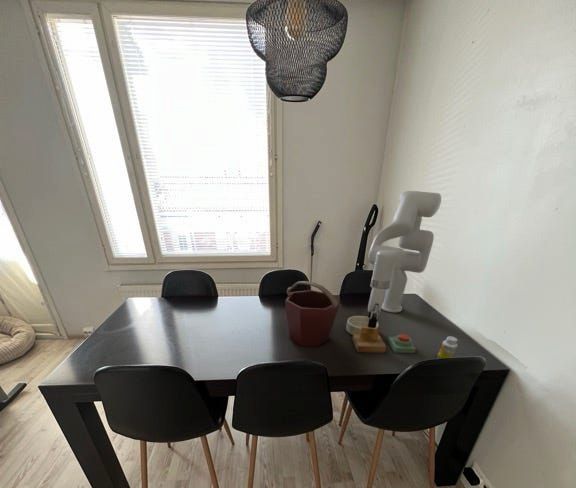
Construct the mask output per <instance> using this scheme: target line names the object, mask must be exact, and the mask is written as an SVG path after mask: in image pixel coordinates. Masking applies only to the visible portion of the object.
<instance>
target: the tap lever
mask: <svg viewBox="0 0 576 488" xmlns="http://www.w3.org/2000/svg"><path fill="white" fill-rule="evenodd" d="M379 333H380V327H378V328H371V327H367V326H362V328H361V333H360V338H366V339H373V340H377V338H378V335H380V334H379Z"/></svg>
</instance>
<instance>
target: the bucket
mask: <svg viewBox="0 0 576 488" xmlns="http://www.w3.org/2000/svg"><path fill="white" fill-rule="evenodd" d="M299 285H307V286H311V287H314V288H316V289H318V290H319V291H318V290H315V289H314V290H313V289H307V290H299V291H292V290H295V289H296V288H297V287H298V286H299ZM286 294H287V297H286V299H285V303H284V305H285V306H284V308H285V313H286V314H285V315H286V320H287V326H288V333H289V338H290V340H291V341H293V342H295V343H296V344H298V345H299V346H303V347H319V346H321V345H322V344H324V343H326V342H327V341H328V339H329V336H330V334H331V331H332V328H333V326H334V323H335V320H336V317H337V315H338V311H339V308H340V302H339V300H338V299H337V298H336V297H335V296H334V295H333V293H332V292H331V291H330V290H328V289H327V288H326V287H325V286H324V285H322V284H319V283H316V282H313V281H307V280H301V281H300V280H299V281H296V282H294V283H293V284H292V285H291V286H289V287H288V288H287V290H286Z"/></svg>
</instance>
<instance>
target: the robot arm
mask: <svg viewBox="0 0 576 488" xmlns="http://www.w3.org/2000/svg"><path fill="white" fill-rule="evenodd" d="M441 203H442V195H441V194H440V193H439V192H429V191H419V190H406V191H403V192H402V193H401V194H400V195H399V199H398V206H397V208H396V211H395V213H394V217H393V219H392V222H391V223H389V224H387V225H386V226H385V227H383V228H382V229H381V230H379V232H378V233H376V235H375V236H374V238H373V240H372V242H371V246H370V248H369V251H368V254H367V260H368V262H369V263H370V264H372V265H373V271H372V276H371V281H370V285H369V286H370V287H371V291H370V295H369V300H368V304H367V312H368V316H367V317H368V318H369V323H368V327H371V328H376V324H377V322H378V319H379V318H378V317H379V314H380V313H381V312H382V311H384V312H387V313H401V312H402V311H403V307H402V305H401V304H402V301H403V297H404V293H405V290H406V286H407V283H408V275H407V273H406V272H411V273H417V274H420V273H423V272H424V271H425V270H426V267H427V265H428V262H429V258H430V254H431V251H432V247H433V243H434V240H435V239H434V238H435V235H434V232H433V231H431V230H427V229H421V225H422V221H423V218H432V217H434V216H435V215H436V214H437V212H438V211H439V209H440V207H441ZM397 238H398V242H397V243H398V247H394V246H389V245H383V244H384V243H385V242H388V241H389V240H393V239H397Z"/></svg>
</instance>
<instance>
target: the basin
mask: <svg viewBox="0 0 576 488" xmlns="http://www.w3.org/2000/svg"><path fill="white" fill-rule="evenodd" d="M368 323H369V318H368V316H364V315H353V316H350V317H348V318H347V321H346V325H345V326H346V327H345V331H346V332H347V333H348V334H350V335H351V336H353V334H360V333H361V328H362V326H367V327H368ZM376 328H379V322H378V321H377V324H376Z"/></svg>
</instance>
